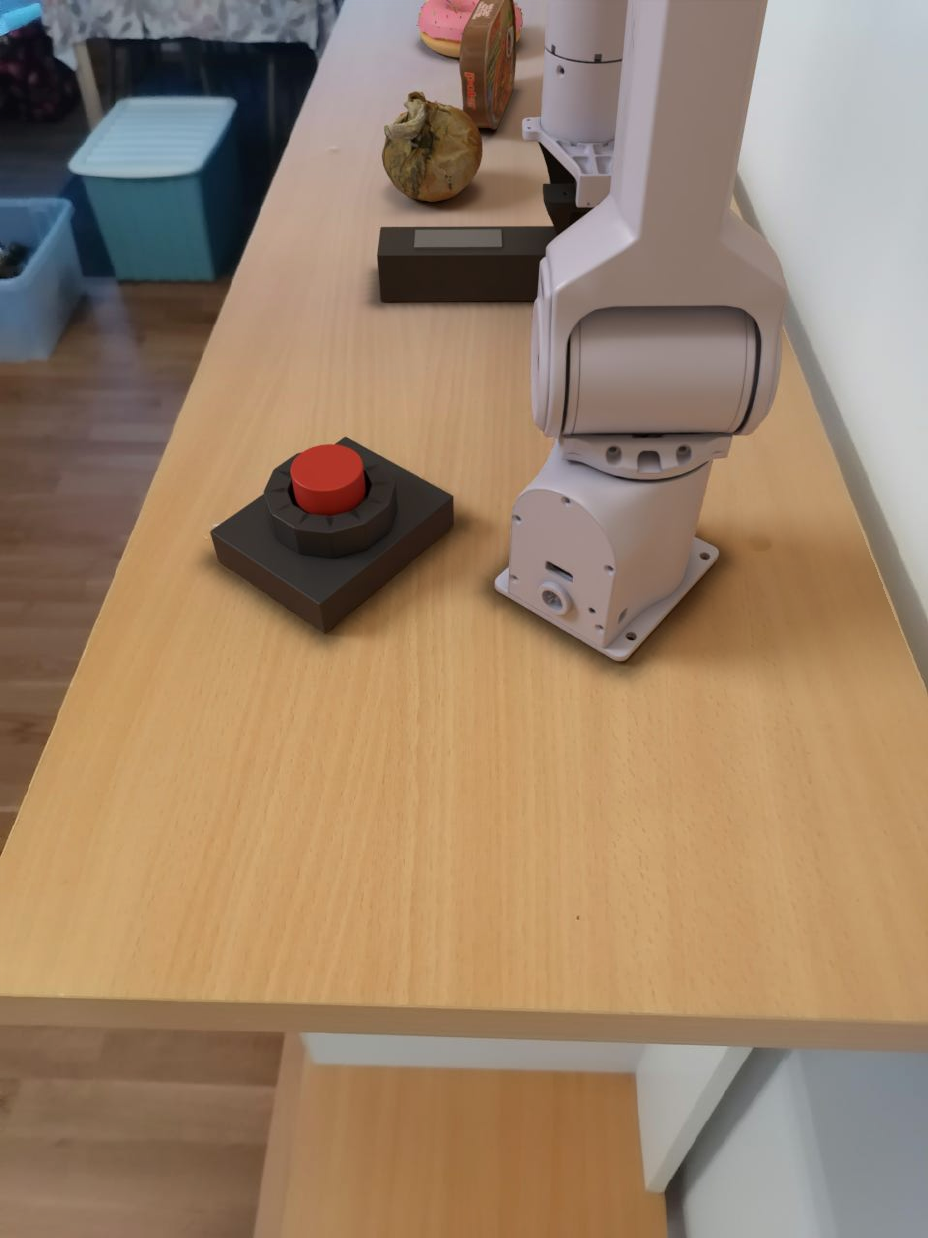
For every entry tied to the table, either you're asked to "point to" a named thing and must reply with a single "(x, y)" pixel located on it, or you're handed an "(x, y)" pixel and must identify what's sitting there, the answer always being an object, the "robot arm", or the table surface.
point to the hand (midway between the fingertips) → (574, 260)
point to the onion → (431, 150)
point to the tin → (488, 61)
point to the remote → (461, 262)
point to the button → (328, 479)
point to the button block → (333, 539)
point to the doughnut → (450, 24)
